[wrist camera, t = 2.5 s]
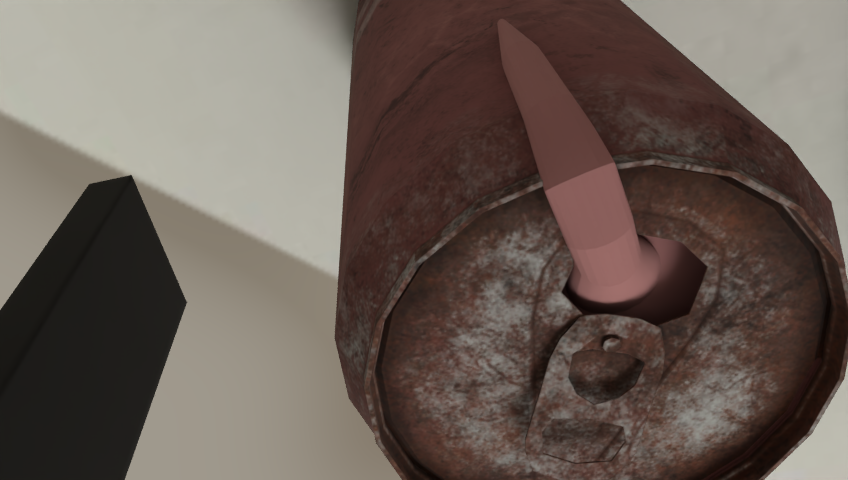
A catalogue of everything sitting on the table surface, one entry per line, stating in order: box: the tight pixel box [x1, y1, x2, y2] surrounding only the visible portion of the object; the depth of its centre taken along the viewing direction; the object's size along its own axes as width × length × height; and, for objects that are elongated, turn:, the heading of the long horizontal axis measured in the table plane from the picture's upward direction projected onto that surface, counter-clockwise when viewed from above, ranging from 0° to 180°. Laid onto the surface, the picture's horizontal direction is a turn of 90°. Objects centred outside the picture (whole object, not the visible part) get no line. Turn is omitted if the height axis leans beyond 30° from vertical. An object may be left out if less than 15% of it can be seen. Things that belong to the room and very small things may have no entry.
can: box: [335, 0, 848, 480], centre depth 14 cm, size 6×6×14 cm
